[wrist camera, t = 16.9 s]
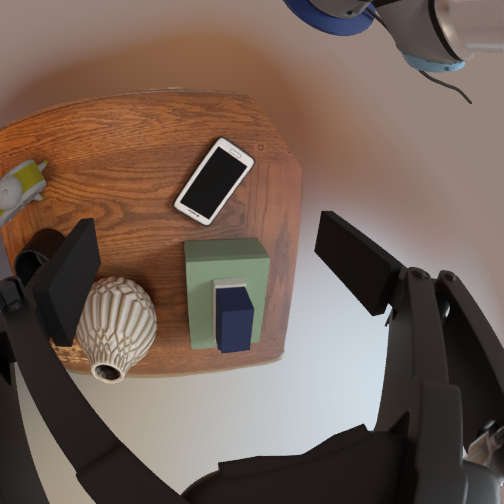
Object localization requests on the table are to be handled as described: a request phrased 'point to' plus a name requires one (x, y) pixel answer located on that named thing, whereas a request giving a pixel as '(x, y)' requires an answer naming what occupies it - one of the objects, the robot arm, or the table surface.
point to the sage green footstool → (220, 267)
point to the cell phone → (213, 181)
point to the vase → (116, 327)
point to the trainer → (232, 315)
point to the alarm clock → (20, 188)
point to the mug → (37, 253)
